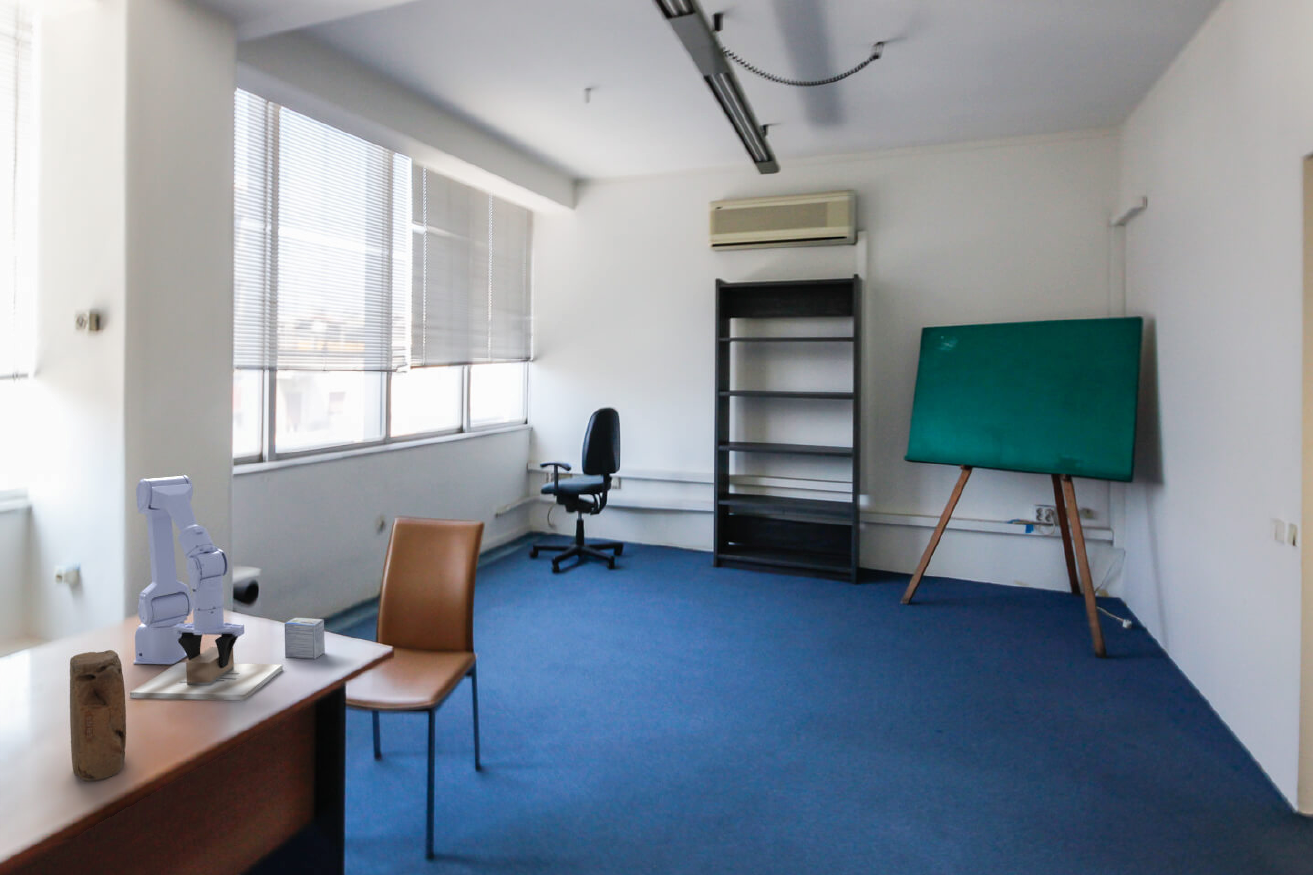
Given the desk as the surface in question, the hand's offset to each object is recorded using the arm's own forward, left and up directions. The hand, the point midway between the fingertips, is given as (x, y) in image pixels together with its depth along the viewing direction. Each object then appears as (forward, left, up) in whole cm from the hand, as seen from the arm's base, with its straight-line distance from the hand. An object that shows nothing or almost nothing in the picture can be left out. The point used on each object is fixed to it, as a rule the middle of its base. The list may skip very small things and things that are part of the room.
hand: (209, 665), depth 160 cm
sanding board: (0, 0, -4) cm, 4 cm away
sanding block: (0, 0, -3) cm, 3 cm away
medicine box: (+13, +17, -4) cm, 22 cm away
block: (+2, -35, -4) cm, 35 cm away
